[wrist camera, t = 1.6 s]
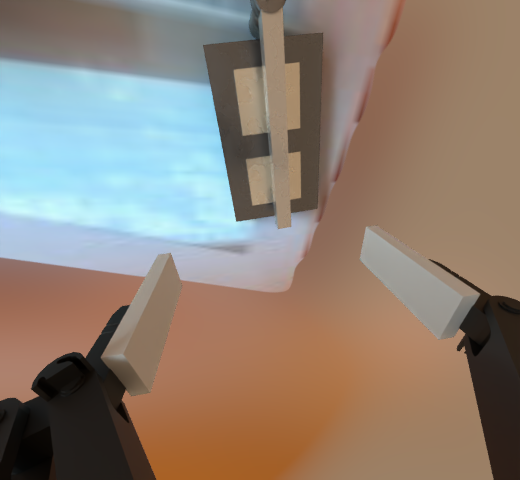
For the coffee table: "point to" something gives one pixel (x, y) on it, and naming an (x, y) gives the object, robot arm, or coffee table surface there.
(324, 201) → the coffee table surface
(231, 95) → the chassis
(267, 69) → the ball-tipped flat stick
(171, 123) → the coffee table surface
